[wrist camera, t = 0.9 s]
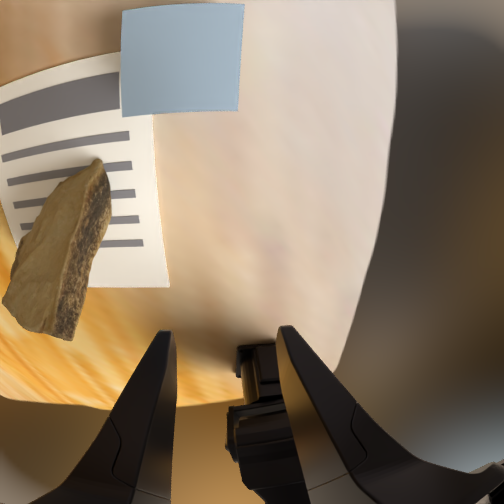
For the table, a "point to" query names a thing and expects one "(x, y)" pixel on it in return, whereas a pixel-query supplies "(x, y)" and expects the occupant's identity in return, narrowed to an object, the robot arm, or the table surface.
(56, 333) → the rock
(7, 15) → the table surface
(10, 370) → the table surface
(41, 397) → the table surface
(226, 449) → the robot arm
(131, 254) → the letter
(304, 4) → the table surface
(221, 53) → the cube
